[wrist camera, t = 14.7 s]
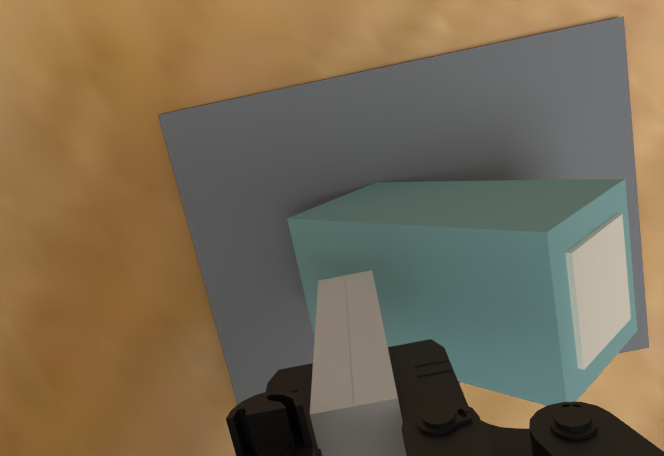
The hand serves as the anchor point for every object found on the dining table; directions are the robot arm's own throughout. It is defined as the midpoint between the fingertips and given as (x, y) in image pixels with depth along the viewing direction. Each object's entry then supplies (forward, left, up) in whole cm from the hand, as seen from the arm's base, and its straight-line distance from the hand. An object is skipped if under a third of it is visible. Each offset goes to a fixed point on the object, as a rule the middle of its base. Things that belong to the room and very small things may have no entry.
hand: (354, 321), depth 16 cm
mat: (+3, 0, -7) cm, 8 cm away
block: (0, 0, -5) cm, 5 cm away
